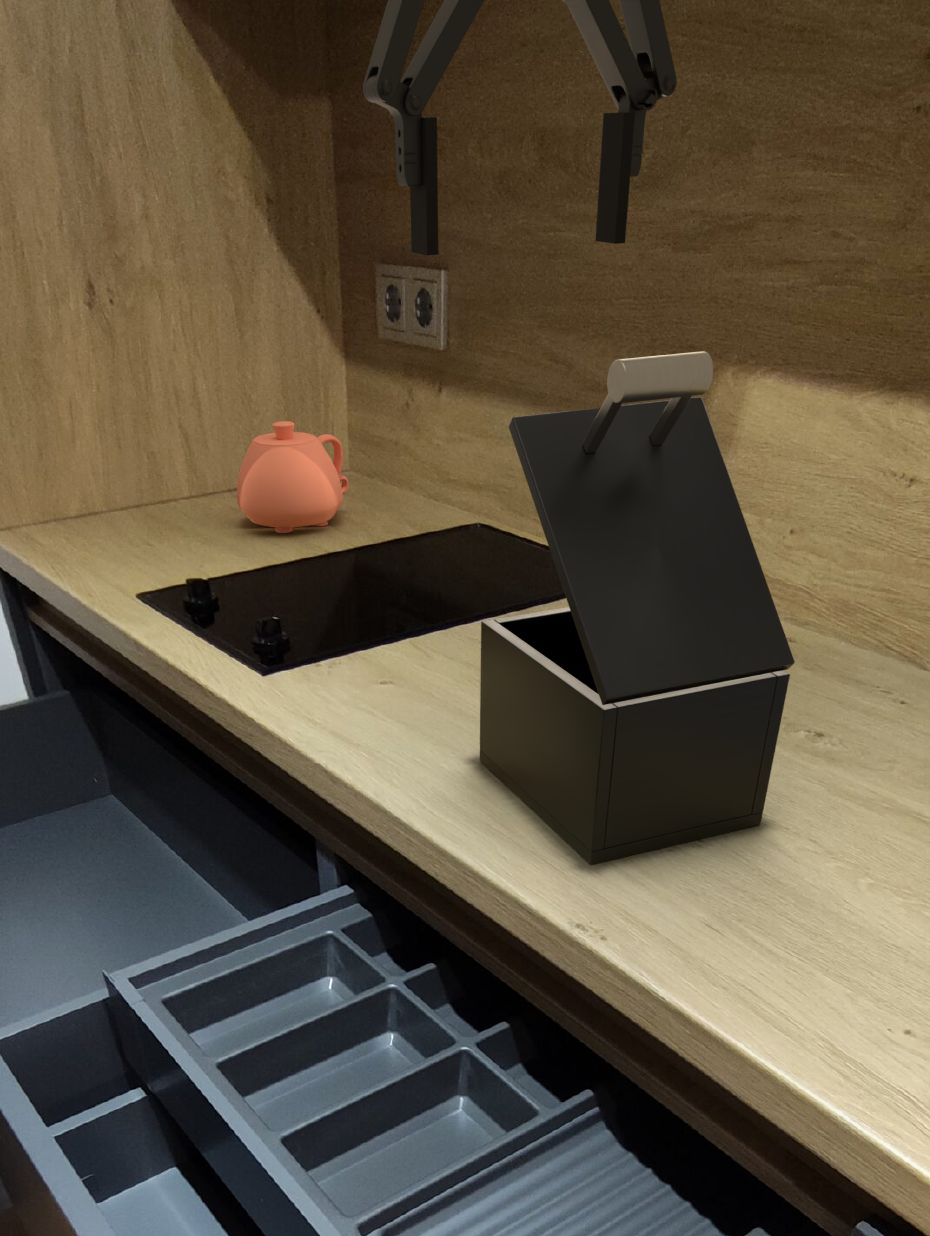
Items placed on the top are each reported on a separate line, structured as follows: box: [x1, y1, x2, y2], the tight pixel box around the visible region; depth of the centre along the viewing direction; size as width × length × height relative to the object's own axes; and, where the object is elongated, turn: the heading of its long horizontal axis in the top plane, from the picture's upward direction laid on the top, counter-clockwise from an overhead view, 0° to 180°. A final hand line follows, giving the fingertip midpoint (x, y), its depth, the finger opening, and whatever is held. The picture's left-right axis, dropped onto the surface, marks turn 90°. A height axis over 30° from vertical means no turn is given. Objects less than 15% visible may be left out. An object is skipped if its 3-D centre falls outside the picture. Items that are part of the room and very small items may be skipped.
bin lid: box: [508, 351, 795, 705], centre depth 62 cm, size 18×13×7 cm
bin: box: [479, 606, 791, 866], centre depth 74 cm, size 17×13×10 cm
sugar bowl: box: [236, 420, 350, 534], centre depth 128 cm, size 12×14×10 cm
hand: (519, 248), depth 73 cm, fingers open, 13 cm apart
